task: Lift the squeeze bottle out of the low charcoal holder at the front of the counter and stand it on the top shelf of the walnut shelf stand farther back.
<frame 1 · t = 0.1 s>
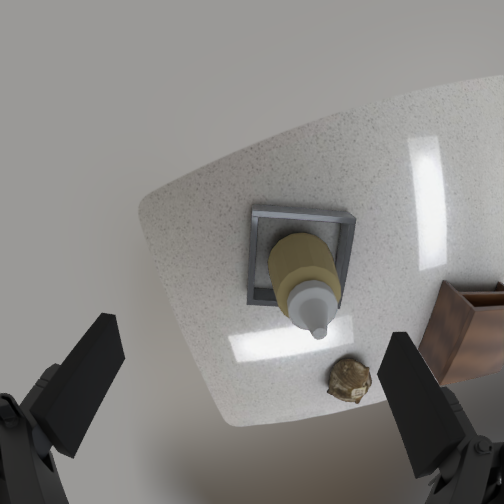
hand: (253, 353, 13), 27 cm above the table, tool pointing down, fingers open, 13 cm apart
holder: (297, 253, 40), on the table
squeeze bottle: (297, 252, 40), resting in holder
shelf stand: (462, 315, 43), on the table
fossilized seashell: (347, 373, 47), on the table
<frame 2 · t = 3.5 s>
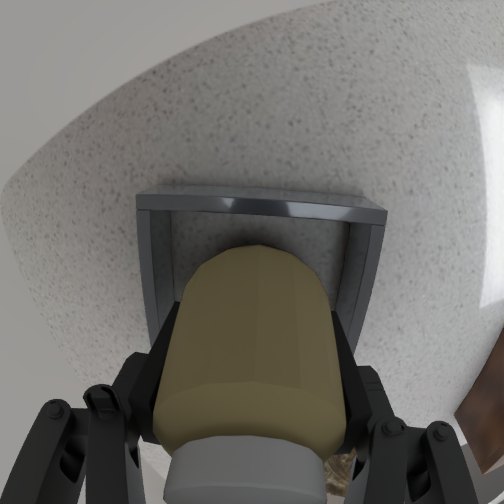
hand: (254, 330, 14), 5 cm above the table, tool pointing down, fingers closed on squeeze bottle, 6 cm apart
holder: (256, 286, 19), on the table
squeeze bottle: (256, 284, 19), resting in holder, touching gripper
fossilized seashell: (347, 453, 27), on the table
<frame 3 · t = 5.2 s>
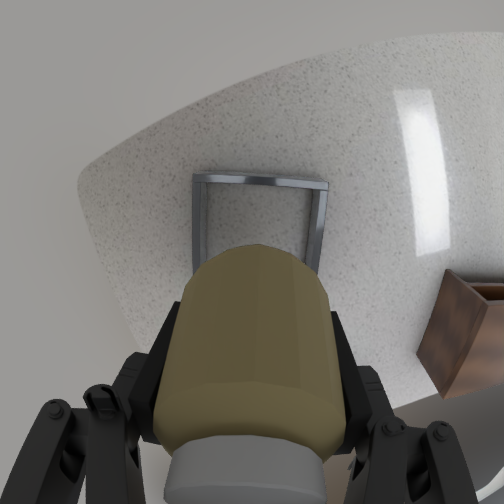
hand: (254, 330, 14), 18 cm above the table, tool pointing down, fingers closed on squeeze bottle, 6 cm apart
holder: (257, 232, 32), on the table
squeeze bottle: (256, 284, 19), point 13 cm above the table, touching gripper
shelf stand: (469, 313, 35), on the table
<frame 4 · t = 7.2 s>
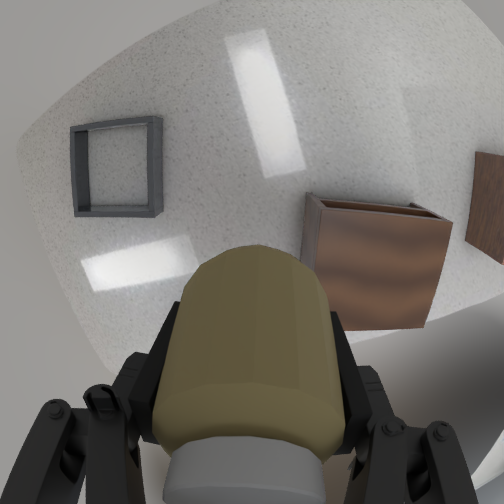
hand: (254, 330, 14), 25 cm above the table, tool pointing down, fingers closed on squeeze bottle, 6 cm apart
holder: (120, 166, 36), on the table
squeeze bottle: (255, 285, 19), point 20 cm above the table, touching gripper
shelf stand: (357, 246, 39), on the table
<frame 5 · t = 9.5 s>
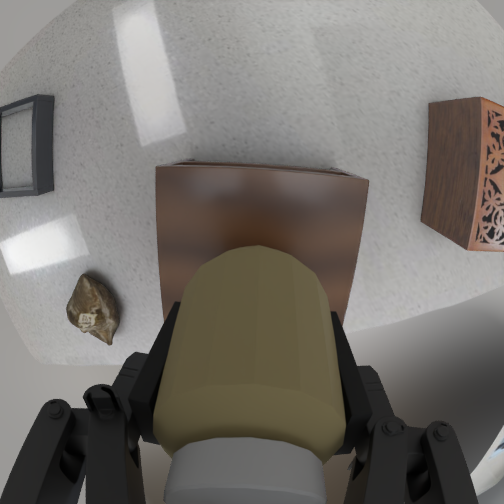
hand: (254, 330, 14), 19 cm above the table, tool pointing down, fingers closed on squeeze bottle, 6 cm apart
tissue box cover: (495, 177, 29), on the table
holder: (22, 148, 29), on the table
squeeze bottle: (256, 285, 19), point 14 cm above the table, touching gripper
shelf stand: (258, 225, 32), on the table
fossilized seashell: (101, 301, 37), on the table
when the fingers open (15 cm above the table, at t = 11.0 s): squeeze bottle stays where it is, resting on shelf stand.
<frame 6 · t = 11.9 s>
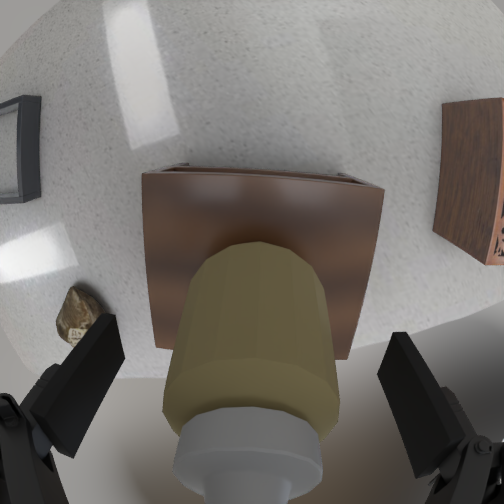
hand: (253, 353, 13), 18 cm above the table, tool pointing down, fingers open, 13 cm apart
holder: (9, 152, 27), on the table
squeeze bottle: (257, 279, 20), point 10 cm above the table, touching shelf stand
shelf stand: (259, 236, 30), on the table
fossilized seashell: (93, 314, 34), on the table
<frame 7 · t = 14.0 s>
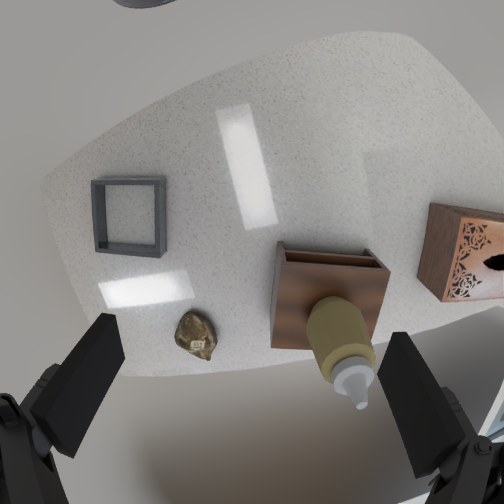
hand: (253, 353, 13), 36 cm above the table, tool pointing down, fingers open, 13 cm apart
tissue box cover: (471, 244, 47), on the table
holder: (132, 213, 48), on the table
squeeze bottle: (330, 312, 42), point 10 cm above the table, touching shelf stand
shelf stand: (319, 283, 51), on the table
fossilized seashell: (199, 329, 55), on the table
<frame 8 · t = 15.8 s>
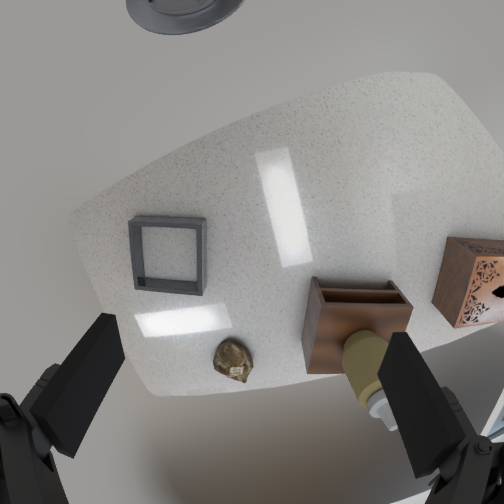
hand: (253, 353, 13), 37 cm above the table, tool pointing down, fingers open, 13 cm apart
tissue box cover: (481, 270, 50), on the table
holder: (170, 251, 51), on the table
squeeze bottle: (360, 342, 45), point 10 cm above the table, touching shelf stand
shelf stand: (346, 311, 54), on the table
fossilized seashell: (235, 354, 59), on the table
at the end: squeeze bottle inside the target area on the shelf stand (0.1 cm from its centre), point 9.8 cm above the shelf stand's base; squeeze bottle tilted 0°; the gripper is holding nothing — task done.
